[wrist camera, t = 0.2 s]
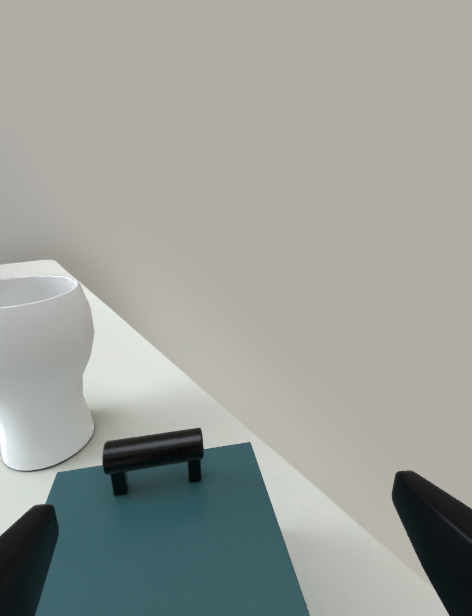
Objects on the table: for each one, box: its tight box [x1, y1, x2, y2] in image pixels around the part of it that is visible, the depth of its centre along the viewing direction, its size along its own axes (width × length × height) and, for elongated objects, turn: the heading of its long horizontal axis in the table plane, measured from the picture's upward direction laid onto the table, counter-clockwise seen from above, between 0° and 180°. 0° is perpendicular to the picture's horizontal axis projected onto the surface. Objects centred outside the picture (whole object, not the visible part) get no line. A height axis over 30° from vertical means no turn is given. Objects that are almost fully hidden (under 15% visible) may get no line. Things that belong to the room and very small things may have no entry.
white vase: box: [0, 275, 94, 471], centre depth 28 cm, size 11×11×15 cm
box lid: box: [35, 428, 310, 616], centre depth 14 cm, size 11×12×4 cm
